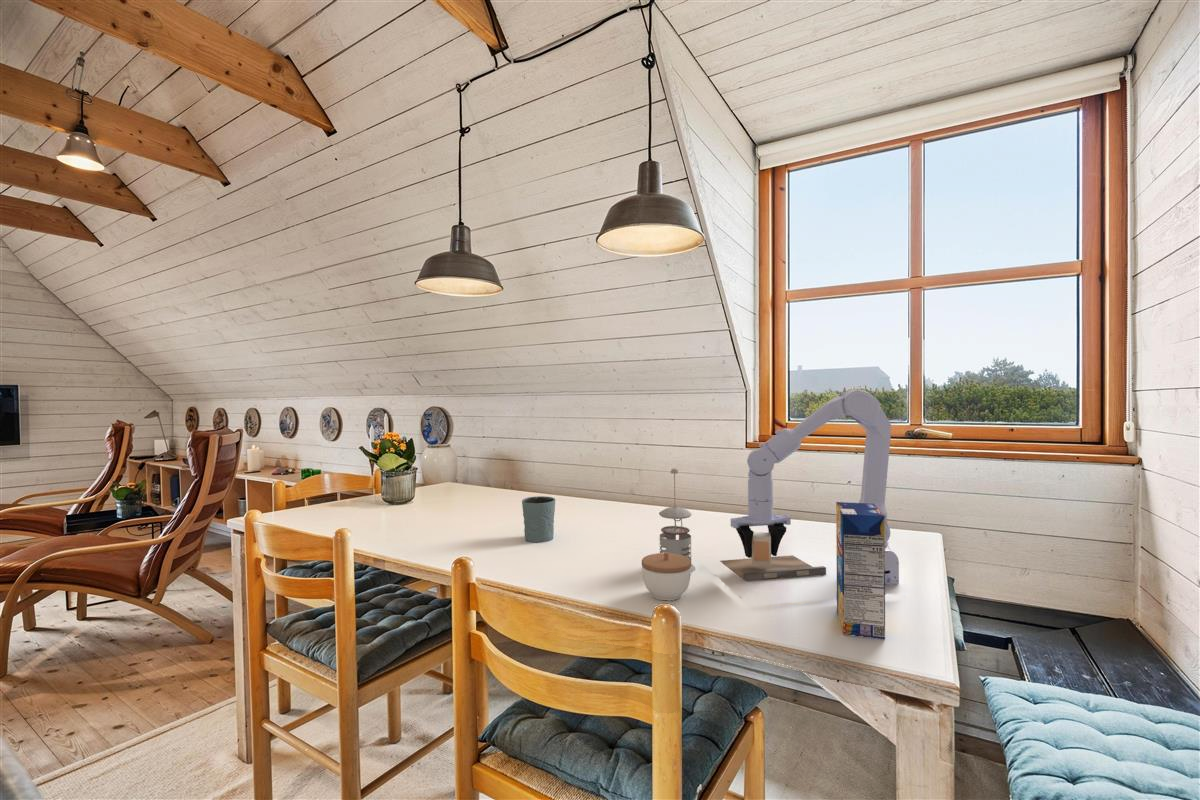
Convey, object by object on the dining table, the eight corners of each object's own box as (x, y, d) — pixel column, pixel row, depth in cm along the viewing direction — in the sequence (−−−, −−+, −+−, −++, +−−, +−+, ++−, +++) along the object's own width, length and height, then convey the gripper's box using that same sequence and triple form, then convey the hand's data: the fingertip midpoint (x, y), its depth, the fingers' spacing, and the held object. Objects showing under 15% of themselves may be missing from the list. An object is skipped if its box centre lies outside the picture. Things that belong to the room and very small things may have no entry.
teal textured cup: (547, 532, 175) (546, 494, 174) (561, 540, 166) (561, 500, 166) (517, 537, 169) (516, 498, 169) (530, 545, 161) (529, 504, 160)
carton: (751, 560, 136) (750, 531, 136) (769, 561, 135) (769, 532, 135) (751, 566, 131) (751, 536, 131) (771, 567, 130) (771, 537, 130)
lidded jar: (672, 609, 113) (671, 563, 113) (631, 596, 120) (631, 553, 120) (701, 594, 121) (700, 551, 121) (661, 583, 128) (661, 542, 128)
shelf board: (826, 579, 129) (826, 567, 129) (745, 586, 125) (745, 574, 125) (792, 559, 144) (792, 549, 144) (719, 565, 140) (719, 554, 140)
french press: (652, 572, 136) (651, 470, 135) (660, 558, 147) (659, 464, 146) (693, 575, 133) (692, 471, 132) (698, 561, 144) (697, 465, 144)
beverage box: (843, 635, 100) (842, 514, 100) (836, 611, 111) (836, 501, 110) (885, 639, 98) (884, 516, 98) (874, 615, 109) (874, 503, 108)
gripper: (780, 494, 138) (780, 548, 138) (725, 497, 135) (725, 552, 136) (795, 500, 131) (795, 557, 131) (737, 503, 128) (737, 561, 129)
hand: (760, 555), depth 133 cm, fingers closed on carton, 6 cm apart
